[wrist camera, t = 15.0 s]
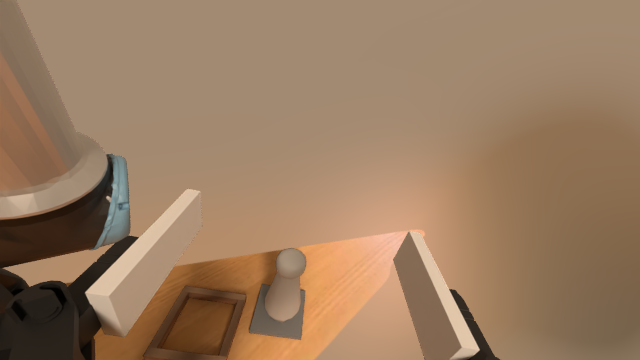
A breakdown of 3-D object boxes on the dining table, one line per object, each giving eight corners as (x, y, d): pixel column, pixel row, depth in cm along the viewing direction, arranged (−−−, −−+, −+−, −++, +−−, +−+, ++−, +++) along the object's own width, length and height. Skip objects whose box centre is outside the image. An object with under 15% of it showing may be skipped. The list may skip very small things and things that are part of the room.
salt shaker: (263, 294, 40) (271, 240, 34) (295, 292, 42) (309, 240, 35) (263, 330, 35) (272, 274, 29) (300, 326, 37) (316, 273, 31)
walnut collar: (144, 361, 30) (143, 355, 29) (186, 291, 38) (185, 285, 38) (223, 370, 31) (223, 365, 30) (245, 300, 39) (246, 294, 39)
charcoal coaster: (249, 332, 35) (249, 330, 35) (261, 286, 42) (262, 284, 42) (300, 339, 36) (301, 337, 35) (304, 292, 43) (305, 290, 42)
